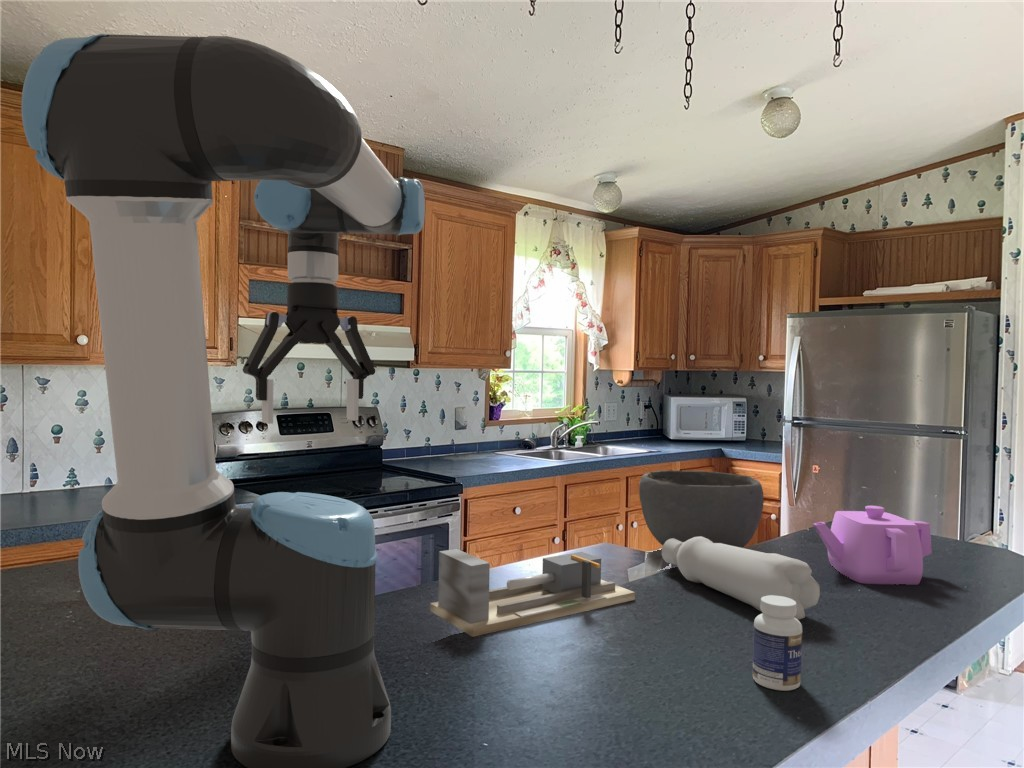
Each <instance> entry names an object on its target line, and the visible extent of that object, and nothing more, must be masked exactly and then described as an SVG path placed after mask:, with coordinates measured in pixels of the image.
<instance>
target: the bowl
mask: <svg viewBox="0 0 1024 768" xmlns="http://www.w3.org/2000/svg"><path fill="white" fill-rule="evenodd" d="M640 477H641V478H640V480H639V482H638V495H639V501H640V506H641V512H642V514H643V515H642V516H643V518H644V520H645V523H646V527H647V528H648V530H649V531H650V533H651V535H652V536H653V537H654V539H655V540H656V541H657V542H658V543H659V544H660V545H662V546H663V545H664V543H665V542H666V541H667V540H669V539H672V538H674V539H677V540H679V541H681V542H685V541H687V540H689V539H691V538H693V537H699V536H702V537H704V538H707V539H709V540H710V541H712V542H713V543H722V544H726V545H731V546H736V547H740V548H744V547H746V545H748V544H749V542H750V541H751V540H752V539H753V537H754V536H755V533H756V531H757V530H758V527H759V526H760V525H759V524H760V521H761V518H762V514H763V510H764V503H765V502H764V491H763V490H764V489H763V486H762V484H761V483H760V481H759V480H758V479H755V478H753V477H751V476H750V475H744V474H743V475H742V474H734V473H727V472H717V471H707V470H705V471H704V470H661V469H660V470H655V471H649V472H646V473H644V474H642V476H640Z"/></svg>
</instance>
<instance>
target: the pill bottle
mask: <svg viewBox="0 0 1024 768" xmlns="http://www.w3.org/2000/svg"><path fill="white" fill-rule="evenodd" d="M760 609H761V611H760V612H761V613H760V614H758V615H757V616H756V617H755V618H754V621H753V647H752V650H753V651H752V652H753V653H752V678H753V680H754V682H755V683H757V685H760V686H762V687H765V688H767V689H771V690H775V691H782V692H783V691H784V692H788V691H793V690H796V689H797V688H799V687H800V686H801V680H802V679H801V678H802V677H801V676H802V654H803V652H802V650H803V647H802V646H803V624H802V623H801V622H800V620H797V619H796V618H794V616H796V613H797V603H796V602H795V601H794V600H792V599H790V598H787V597H783V596H775V595H768V596H764V597H762V598H761V604H760Z"/></svg>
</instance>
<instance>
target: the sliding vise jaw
mask: <svg viewBox="0 0 1024 768" xmlns="http://www.w3.org/2000/svg"><path fill="white" fill-rule="evenodd" d="M585 560H587V561H590V562H591V586H592V585H597V584H601V580H602V558H601V557H598V556H595V555H592V554H590V553H587V552H585V551H579V552H574V553H573V552H572V553H566V554H561V555H555V556H554V555H553V556H548V557H543V558H542V572H541V573H540V574H536V575H530V576H524V577H520V578H514V579H507V581H506V587H507V588H508V589H509V590H512V589H518V588H523V587H528V586H533V585H538V584H542V589H545V590H547V591H549V592H552V593H558V592H563V591H568V590H573V589H578V588H582V561H585Z"/></svg>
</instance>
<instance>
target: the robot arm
mask: <svg viewBox="0 0 1024 768" xmlns="http://www.w3.org/2000/svg"><path fill="white" fill-rule="evenodd" d="M21 120H22V125H23V126H22V127H23V130H24V136H25V138H26V141H27V144H28V146H29V148H30V149H32V150H34V151H36V152H35V155H34V158H35V159H36V162H37V163H38V164H39V165H40V166H41V167H42V168H43V169H44V170H45V171H46V172H47V173H49V174H51V175H52V176H53V177H55V178H58V179H60V180H62V181H64V182H63V183H64V188H65V189H64V190H65V197H66V201H67V202H68V203H69V204H70V205H72V207H73V208H75V210H77V211H78V212H79V213H81V214H82V215H83V216H84V217H85V219H87V221H88V222H89V230H90V241H91V250H92V257H93V258H92V260H93V267H94V277H95V285H96V295H97V296H96V297H97V305H98V313H99V322H100V330H101V331H100V332H101V340H102V341H101V342H102V350H103V359H104V369H105V376H106V377H105V378H106V387H107V388H106V389H107V395H108V396H107V397H108V404H109V405H108V406H109V414H110V416H109V417H110V424H111V433H112V440H113V441H112V442H113V452H114V458H115V459H114V460H115V468H116V479H117V482H116V483H115V485H113V487H112V488H111V489H110V490H109V491H107V493H106V494H105V495H104V497H103V498H102V500H101V509H100V510H99V511H98V512H97V513H96V514H94V516H93V517H92V518H91V519H90V521H88V523H87V525H86V527H85V528H84V529H85V530H84V532H83V534H82V538H81V540H82V542H83V548H81V549H79V551H78V557H77V558H78V559H77V560H78V562H77V564H78V567H77V568H78V578H79V583H80V587H81V591H82V592H83V595H84V598H85V600H86V602H87V603H88V606H89V607H90V608H91V610H92V611H93V612H94V613H95V614H96V615H97V616H98V617H99V618H101V619H103V620H104V621H107V622H108V623H111V624H114V625H118V626H125V627H126V626H127V627H135V628H140V629H143V630H151V631H153V630H160V629H180V630H181V629H185V630H186V629H187V630H189V629H190V630H215V631H216V630H218V631H222V630H223V631H247V632H250V636H251V637H250V638H251V659H250V661H251V662H250V667H249V669H248V672H247V675H246V677H245V681H244V684H243V686H242V690H241V692H240V695H239V699H238V702H237V705H236V707H235V710H234V714H233V716H232V721H231V727H230V733H231V734H230V736H231V737H230V748H231V749H230V750H231V753H232V755H233V757H234V758H235V759H236V761H238V763H240V764H242V766H244V767H246V768H348V767H351V766H354V765H356V764H359V763H361V762H363V761H364V760H366V759H368V758H370V757H371V756H373V755H374V754H375V753H377V752H378V751H379V750H380V749H381V748H382V747H384V745H385V744H386V743H387V741H388V739H389V738H390V735H391V730H392V729H391V728H392V727H391V725H392V722H391V721H392V707H391V703H390V699H389V695H388V693H387V689H386V687H385V684H384V680H383V678H382V675H381V674H382V673H381V671H380V668H379V665H378V662H377V658H376V656H375V617H376V616H375V614H376V613H375V612H376V611H375V609H376V608H375V607H376V605H375V604H376V565H377V564H376V563H377V561H378V553H377V552H378V551H377V550H376V535H375V534H376V533H375V532H376V531H375V523H374V522H375V521H374V519H373V517H372V515H371V513H370V512H369V511H368V510H367V509H366V508H365V507H363V506H362V505H360V504H358V503H356V502H354V501H351V500H349V499H345V498H342V497H339V496H332V495H327V494H321V493H315V492H313V493H312V492H301V491H297V492H289V491H287V492H285V491H277V492H270V493H266V494H265V493H264V494H261V495H259V496H258V497H256V498H255V500H254V501H253V504H252V505H251V508H247V507H244V508H243V507H237V504H236V497H235V496H236V495H235V486H234V485H235V484H234V483H233V481H232V480H231V479H229V478H228V477H226V476H225V475H224V474H223V473H221V472H220V471H218V470H217V468H216V465H217V464H216V454H215V442H214V439H215V438H214V428H213V416H212V415H213V414H212V403H211V389H210V387H211V386H210V379H209V378H210V376H209V366H208V364H209V363H208V351H207V338H206V326H205V312H204V301H203V287H202V275H201V262H200V249H199V237H198V225H197V223H198V222H199V220H200V218H201V217H202V216H203V215H204V214H205V213H206V211H207V210H208V209H209V208H210V207H211V206H212V205H213V204H214V200H213V187H212V186H213V185H212V184H213V182H232V181H258V183H257V185H256V187H255V190H254V195H253V196H254V197H253V199H254V200H253V201H254V206H255V208H256V211H257V212H258V214H259V216H260V217H261V218H262V219H263V220H264V221H265V222H267V223H268V224H269V225H270V226H271V227H272V228H274V229H277V230H278V231H282V232H284V233H286V234H287V279H288V280H289V281H291V282H289V283H288V285H287V287H286V288H287V289H286V290H287V291H286V293H287V294H286V297H287V298H286V307H287V309H286V310H287V311H286V313H285V314H283V313H282V314H281V313H279V312H277V311H271V312H270V311H269V312H267V313H265V317H264V325H263V329H262V331H261V333H260V335H259V336H258V337H257V338H258V339H257V340H256V342H255V344H254V346H253V348H252V350H251V352H250V353H249V356H248V357H247V359H246V361H245V363H244V365H243V367H242V372H243V374H245V375H249V376H252V377H254V379H255V399H256V401H260V402H261V423H264V424H268V425H269V424H271V425H272V424H274V378H268V377H269V376H270V375H271V374H272V373H273V371H274V370H275V369H276V368H277V367H278V366H279V365H280V364H281V362H282V361H283V360H284V358H285V357H286V356H287V355H288V354H289V353H290V351H291V350H292V349H294V347H295V346H296V345H298V344H303V345H304V344H314V345H325V346H327V347H328V348H329V349H330V350H331V352H332V353H333V354H334V355H335V357H336V358H337V359H338V360H339V362H340V363H341V365H342V366H343V367H344V368H345V370H346V371H347V372H348V373H349V375H350V376H351V377H352V378H347V379H346V420H348V421H353V422H355V421H359V402H360V401H359V400H362V399H364V388H365V387H364V381H365V380H366V379H367V377H370V376H373V375H374V374H375V373H376V369H375V367H374V365H373V364H374V363H373V362H372V359H371V357H370V355H369V352H368V351H367V349H366V345H365V343H364V342H363V339H362V337H361V334H360V332H359V329H358V319H357V317H356V316H345V317H339V316H338V307H339V303H338V302H339V287H338V285H336V284H335V283H337V282H338V281H339V234H344V235H345V234H372V235H376V234H377V235H395V236H401V235H410V234H411V235H415V234H418V233H420V232H421V231H422V230H423V228H424V224H425V217H426V215H425V214H426V213H425V211H426V201H425V191H424V187H423V185H422V184H423V183H421V182H420V180H419V179H415V178H414V179H413V178H404V177H403V176H402V177H401V176H400V177H398V178H394V177H393V176H392V174H391V173H390V172H389V170H388V169H387V168H386V166H385V165H384V164H383V162H382V161H381V160H380V158H378V157H377V155H376V154H375V152H374V151H373V150H372V149H371V147H370V146H369V145H368V144H367V142H366V140H365V139H364V138H363V134H362V133H363V132H362V126H361V123H360V121H359V117H358V116H357V114H356V112H355V110H354V109H353V107H352V106H351V105H350V103H349V102H348V101H347V99H346V98H345V97H344V96H343V94H342V93H341V92H340V91H338V90H337V89H336V88H335V87H334V86H333V85H332V84H331V83H330V82H329V81H328V80H326V79H325V78H323V76H321V75H319V74H318V73H317V72H315V71H313V70H312V69H310V68H308V67H306V66H305V65H304V64H303V63H301V62H299V61H297V60H295V59H293V58H292V57H290V56H288V55H286V54H284V53H282V52H280V51H277V50H275V49H273V48H271V47H269V46H266V45H265V44H264V45H263V44H260V43H257V42H254V41H251V40H248V39H243V38H239V37H233V36H227V35H209V36H190V35H189V36H187V35H185V36H184V35H183V36H182V35H147V34H145V35H144V34H143V35H142V34H110V33H109V34H107V33H99V34H92V35H91V36H86V37H85V36H83V37H81V36H80V37H67V38H61V39H57V40H54V41H52V42H51V43H49V44H46V46H45V47H43V48H42V49H41V51H40V52H39V55H37V56H36V57H35V58H33V60H32V61H31V64H30V65H29V67H28V70H27V72H26V75H25V79H24V81H23V88H22V93H21ZM283 323H284V324H285V325H286V327H287V329H288V330H289V331H288V332H287V334H286V335H285V336H284V337H283V339H282V340H281V342H280V343H279V344H278V345H277V347H276V348H275V349H274V350H273V351H272V352H271V353H270V355H269V356H268V357H267V358H266V359H265V360H264V362H263V363H262V361H263V359H264V357H265V354H266V352H267V351H268V350H269V347H270V345H271V343H272V341H273V339H274V337H275V335H276V334H277V330H278V328H281V327H282V325H283ZM339 327H340V328H341V330H342V331H344V335H345V337H346V339H347V341H348V344H349V346H350V347H351V350H352V353H353V355H354V357H355V359H354V358H353V356H352V354H351V353H350V352H349V351H348V349H347V348H346V347H345V345H344V344H343V342H342V339H341V338H340V337H339V336H338V335H337V333H336V331H337V330H338V328H339ZM261 363H262V364H261Z"/></svg>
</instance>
